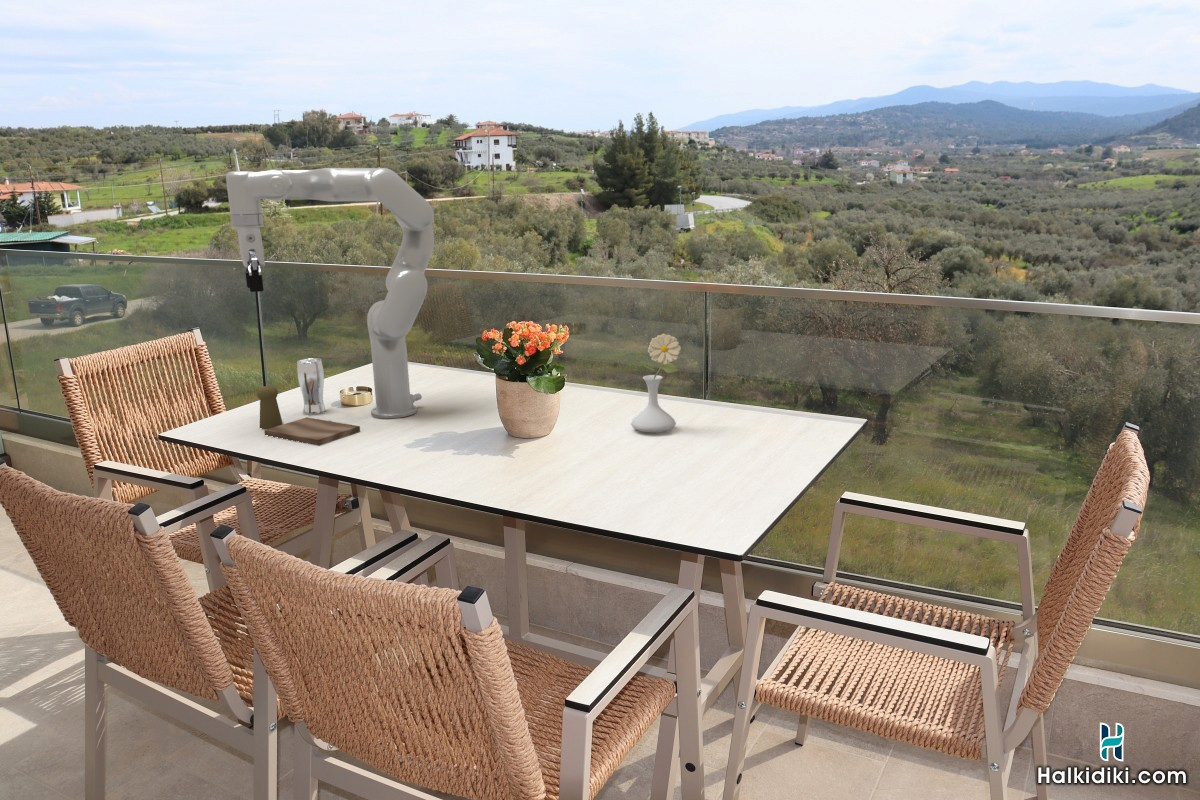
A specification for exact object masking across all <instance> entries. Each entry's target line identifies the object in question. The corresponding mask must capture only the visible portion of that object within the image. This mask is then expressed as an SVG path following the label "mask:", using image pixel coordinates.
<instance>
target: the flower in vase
mask: <svg viewBox="0 0 1200 800" xmlns="http://www.w3.org/2000/svg"><path fill="white" fill-rule="evenodd" d="M679 344H680V342H679V341H678V339H677V338H676V337H675V336H672V335H670V334H665V333H662V334H659V335H656V336H655V337H652V338H651V341H650V342H649V345H648V348H647V353H649V357H650V359H651V361H654V362H656V363H657V364H661V365H660V367H659V369H658V370H657V371H656V369H653V368H652V367H649V366H647V365H645V364H644V363H642V365H643V366H644V367H645V368H646V369H648V370H651V371H653V372H655V374H649V375H644V376H642V379H643V380H644V382H645V383H646V387H647V391H648V402H647V405H646V407H645V408H644V409H643V410H642V411H640V412H639V413H638V414H637V415H636V416H634V418H633V419H632V421H631V422H630V425H631V427H632V428H633V429H635V430H637V431H639V432H642V433H643V432H644V433H662V432H663V433H664V432H666V431H669V430H671V429H673V428H674V427H675V425H676V424H677V423H676V421H675V419H674V418H673V417H672V415H670V413H668V412H666V411H665V410H664V409H663V408H661V406H660V405H659V401H658V395H659V394H658V392H659V386H660V383H661V381H662V379H663V378H664V377H663V376H662V375H658V374H659V372H660V371H661V370H663V371H664V372H665V373H666V374H672V373H673V374H674V373H676V372H679V371H680V370H679V369H678V367H677V366H676V365H675V364H673V363H672V362H675V361H677V360H678V358H679V354H680V352H681V351H682V349H681V348H682V346H681V345H679Z"/></svg>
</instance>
